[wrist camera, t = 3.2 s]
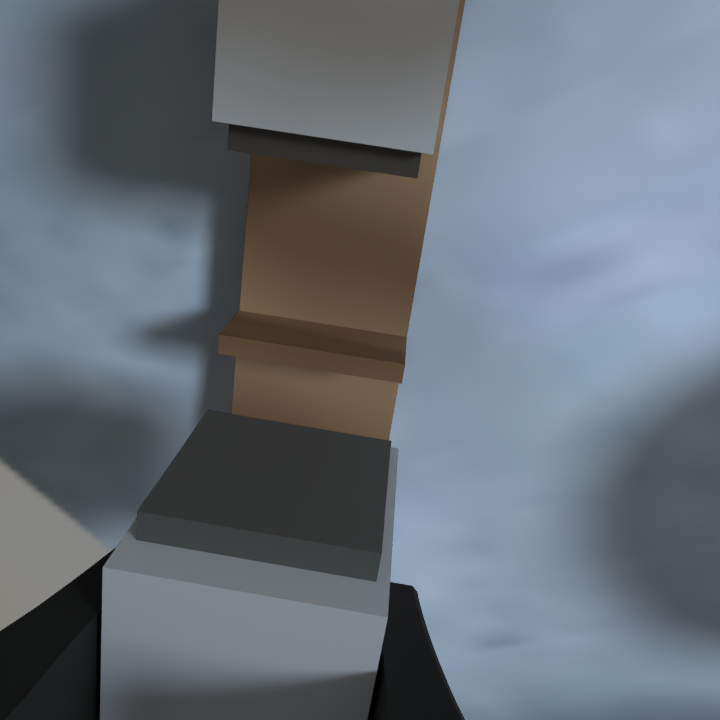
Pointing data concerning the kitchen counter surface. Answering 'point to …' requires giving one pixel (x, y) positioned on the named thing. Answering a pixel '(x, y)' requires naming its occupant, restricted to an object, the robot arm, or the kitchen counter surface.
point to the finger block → (253, 578)
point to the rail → (331, 196)
